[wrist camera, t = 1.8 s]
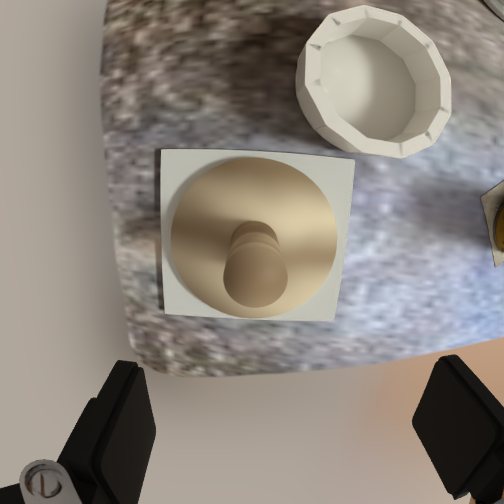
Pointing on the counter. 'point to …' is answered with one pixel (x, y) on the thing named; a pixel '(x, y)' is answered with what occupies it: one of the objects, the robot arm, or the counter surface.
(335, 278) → the mat
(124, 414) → the robot arm
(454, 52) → the counter surface
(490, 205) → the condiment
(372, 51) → the bowl
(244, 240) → the lid
